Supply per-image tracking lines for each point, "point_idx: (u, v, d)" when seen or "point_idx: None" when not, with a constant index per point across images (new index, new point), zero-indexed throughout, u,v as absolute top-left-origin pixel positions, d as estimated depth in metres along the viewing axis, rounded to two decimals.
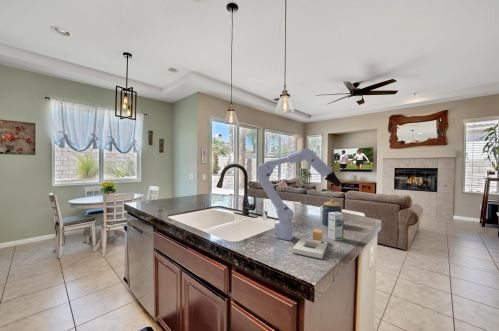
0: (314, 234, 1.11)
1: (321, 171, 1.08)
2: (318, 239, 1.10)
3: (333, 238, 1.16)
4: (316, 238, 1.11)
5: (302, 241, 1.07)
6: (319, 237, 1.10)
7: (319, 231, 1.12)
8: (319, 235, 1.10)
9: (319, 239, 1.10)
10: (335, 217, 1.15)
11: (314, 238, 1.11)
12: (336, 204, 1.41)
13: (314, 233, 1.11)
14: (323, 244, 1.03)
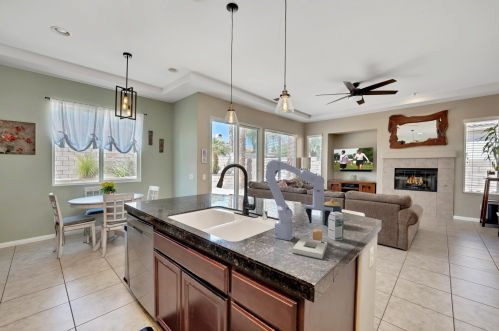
0: (314, 234, 1.11)
1: (322, 204, 1.11)
2: (318, 239, 1.10)
3: (333, 238, 1.16)
4: (316, 238, 1.11)
5: (302, 241, 1.07)
6: (319, 237, 1.10)
7: (319, 231, 1.12)
8: (319, 235, 1.10)
9: (319, 239, 1.10)
10: (335, 217, 1.15)
11: (314, 238, 1.11)
12: (336, 204, 1.41)
13: (314, 233, 1.11)
14: (323, 244, 1.03)
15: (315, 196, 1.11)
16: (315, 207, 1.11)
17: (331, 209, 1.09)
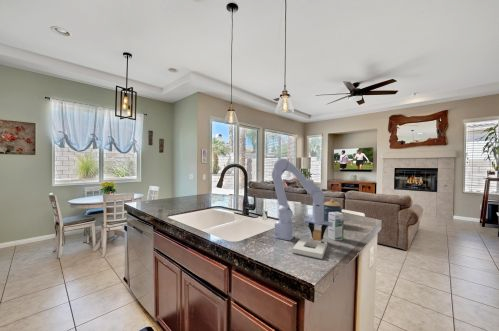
0: (314, 234, 1.11)
1: (322, 219, 1.11)
2: (318, 239, 1.10)
3: (333, 238, 1.16)
4: (316, 238, 1.11)
5: (302, 241, 1.07)
6: (319, 237, 1.10)
7: (319, 231, 1.12)
8: (319, 235, 1.10)
9: (319, 239, 1.10)
10: (335, 217, 1.15)
11: (314, 238, 1.11)
12: (336, 204, 1.41)
13: (314, 233, 1.11)
14: (323, 244, 1.03)
15: (315, 211, 1.11)
16: (315, 222, 1.11)
17: (331, 224, 1.09)
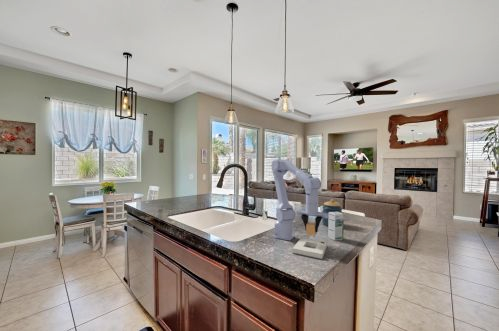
0: (308, 227, 1.01)
1: (316, 209, 1.00)
2: (312, 232, 1.00)
3: (333, 238, 1.16)
4: (310, 231, 1.01)
5: (302, 241, 1.07)
6: (313, 230, 1.00)
7: (313, 223, 1.02)
8: (313, 228, 1.00)
9: (313, 232, 1.00)
10: (335, 217, 1.15)
11: (308, 231, 1.01)
12: (336, 204, 1.41)
13: (308, 225, 1.01)
14: (323, 244, 1.03)
15: (306, 200, 1.03)
16: (308, 212, 1.01)
17: (326, 215, 0.99)
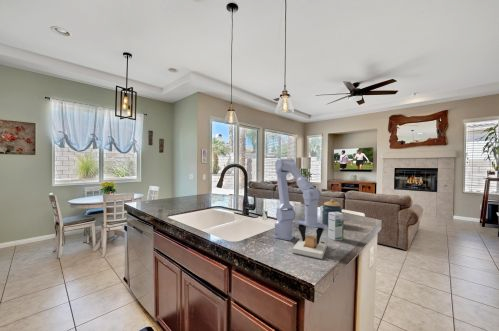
0: (306, 240, 1.01)
1: (315, 221, 1.00)
2: (311, 246, 1.00)
3: (333, 238, 1.16)
4: (309, 245, 1.00)
5: (302, 241, 1.07)
6: (312, 244, 0.99)
7: (312, 237, 1.01)
8: (312, 242, 0.99)
9: (312, 246, 0.99)
10: (335, 217, 1.15)
11: (306, 245, 1.01)
12: (336, 204, 1.41)
13: (306, 239, 1.01)
14: (323, 244, 1.03)
15: (305, 211, 1.02)
16: (307, 224, 1.00)
17: (325, 227, 0.98)
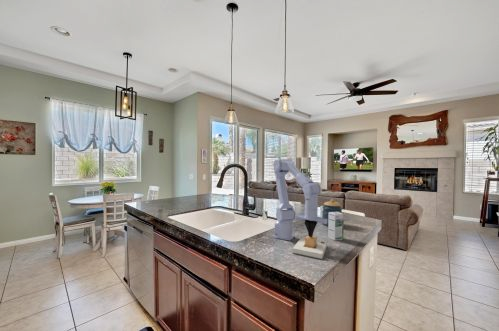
0: (306, 240, 1.01)
1: (315, 215, 1.00)
2: (311, 246, 1.00)
3: (333, 238, 1.16)
4: (309, 245, 1.00)
5: (302, 241, 1.07)
6: (312, 244, 0.99)
7: (312, 237, 1.01)
8: (312, 242, 0.99)
9: (312, 246, 0.99)
10: (335, 217, 1.15)
11: (306, 245, 1.01)
12: (336, 204, 1.41)
13: (306, 239, 1.01)
14: (323, 244, 1.03)
15: (305, 205, 1.02)
16: (307, 218, 1.00)
17: (325, 221, 0.98)
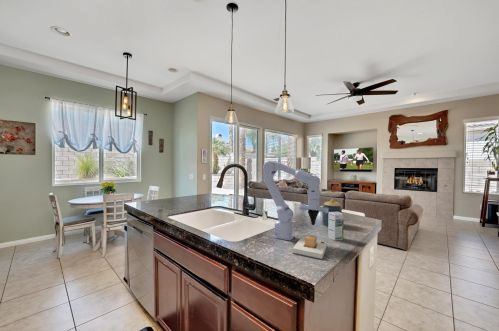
0: (306, 240, 1.01)
1: (318, 204, 1.10)
2: (311, 246, 1.00)
3: (333, 238, 1.16)
4: (309, 245, 1.00)
5: (302, 241, 1.07)
6: (312, 244, 0.99)
7: (312, 237, 1.01)
8: (312, 242, 0.99)
9: (312, 246, 0.99)
10: (335, 217, 1.15)
11: (306, 245, 1.01)
12: (336, 204, 1.41)
13: (306, 239, 1.01)
14: (323, 244, 1.03)
15: (310, 196, 1.11)
16: (310, 207, 1.10)
17: (326, 210, 1.08)
